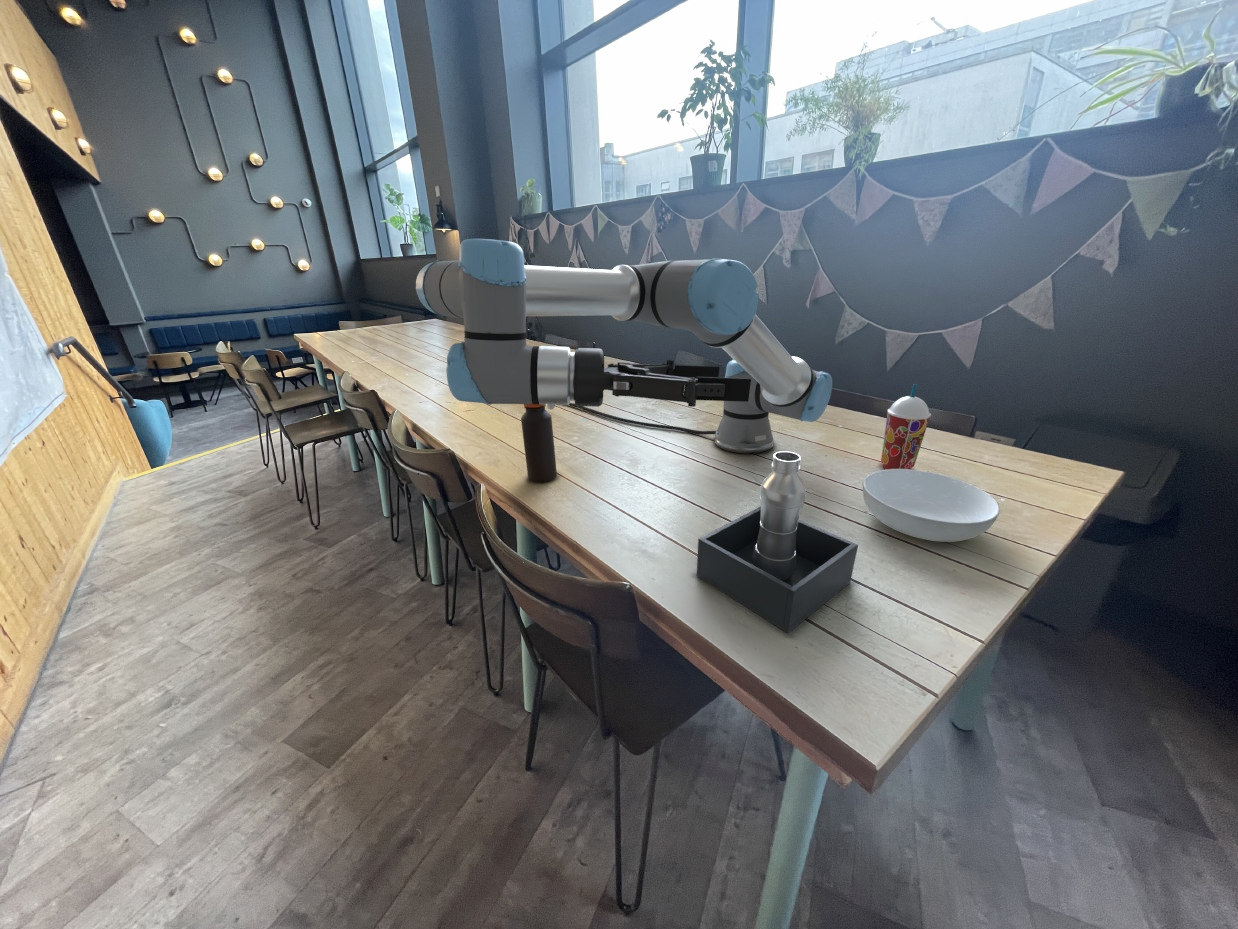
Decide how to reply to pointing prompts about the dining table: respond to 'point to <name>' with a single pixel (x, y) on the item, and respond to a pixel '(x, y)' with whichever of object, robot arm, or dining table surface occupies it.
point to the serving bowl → (929, 504)
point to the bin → (779, 602)
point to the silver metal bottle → (780, 516)
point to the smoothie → (904, 432)
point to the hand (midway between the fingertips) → (732, 382)
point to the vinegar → (538, 443)
